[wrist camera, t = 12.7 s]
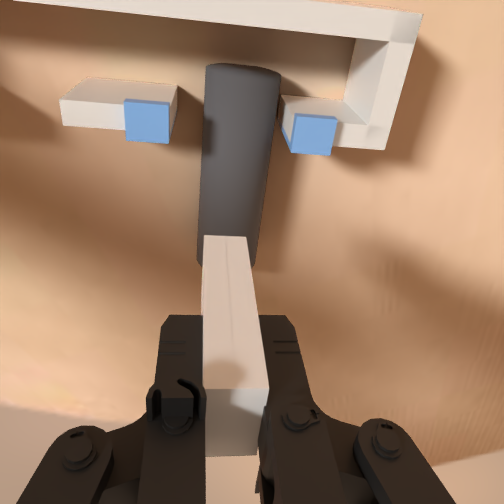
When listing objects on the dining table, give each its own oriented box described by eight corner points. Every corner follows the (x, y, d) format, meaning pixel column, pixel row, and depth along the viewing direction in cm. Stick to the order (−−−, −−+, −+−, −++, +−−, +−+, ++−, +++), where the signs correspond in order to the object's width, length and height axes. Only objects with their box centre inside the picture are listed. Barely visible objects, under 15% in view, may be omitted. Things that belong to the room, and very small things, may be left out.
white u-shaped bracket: (-100, 88, 23) (-179, 118, 18) (-149, -58, 19) (-263, -67, 15) (356, 126, 26) (386, 159, 21) (384, 6, 23) (429, 15, 18)
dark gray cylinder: (245, 240, 31) (262, 272, 28) (191, 244, 30) (203, 278, 27) (266, 65, 24) (292, 82, 21) (198, 61, 23) (215, 77, 20)
